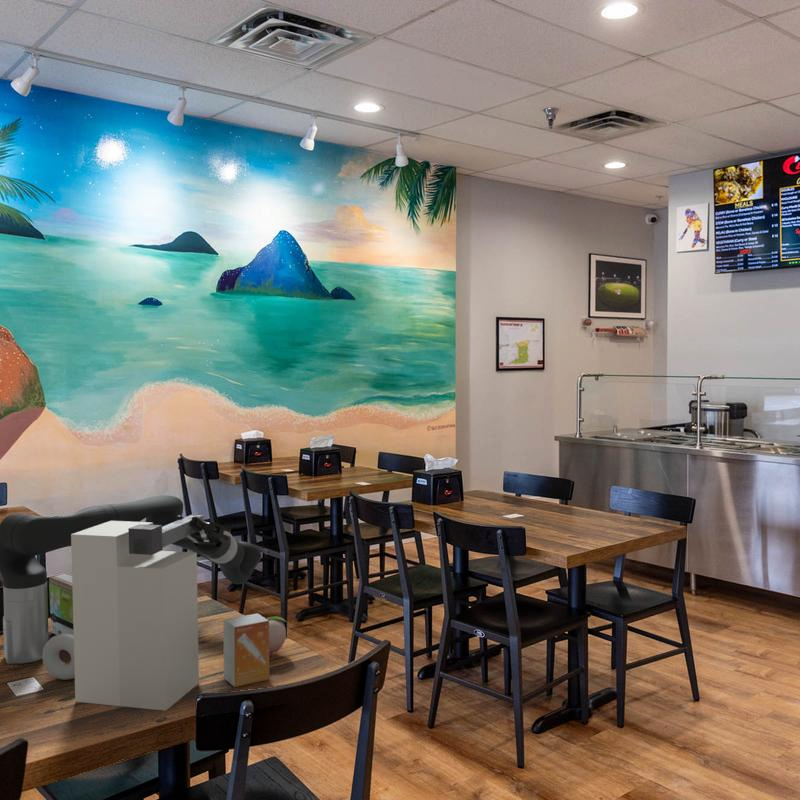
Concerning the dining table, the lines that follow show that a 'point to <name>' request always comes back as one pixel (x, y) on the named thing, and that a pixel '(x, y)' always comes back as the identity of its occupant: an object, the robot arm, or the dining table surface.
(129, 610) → the two tier stand
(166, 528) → the metal bar
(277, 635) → the decorative fruit
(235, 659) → the small box
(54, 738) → the dining table surface
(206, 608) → the dining table surface
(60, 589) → the tea box
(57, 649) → the donut
